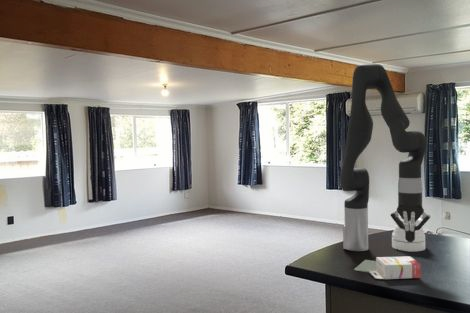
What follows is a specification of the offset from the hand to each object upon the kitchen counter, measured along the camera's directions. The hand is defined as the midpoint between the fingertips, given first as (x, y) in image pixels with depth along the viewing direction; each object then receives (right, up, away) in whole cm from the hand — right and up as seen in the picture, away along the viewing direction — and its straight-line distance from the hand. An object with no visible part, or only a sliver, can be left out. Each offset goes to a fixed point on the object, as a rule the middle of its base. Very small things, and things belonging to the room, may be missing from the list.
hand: (410, 241), depth 149 cm
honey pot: (+12, -9, +33) cm, 36 cm away
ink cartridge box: (+1, -8, -3) cm, 8 cm away
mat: (-7, -10, +5) cm, 14 cm away
